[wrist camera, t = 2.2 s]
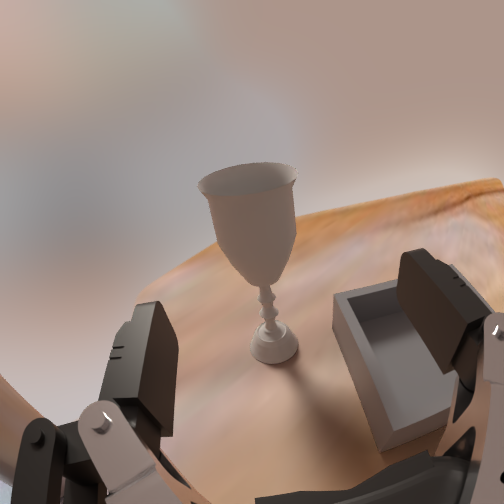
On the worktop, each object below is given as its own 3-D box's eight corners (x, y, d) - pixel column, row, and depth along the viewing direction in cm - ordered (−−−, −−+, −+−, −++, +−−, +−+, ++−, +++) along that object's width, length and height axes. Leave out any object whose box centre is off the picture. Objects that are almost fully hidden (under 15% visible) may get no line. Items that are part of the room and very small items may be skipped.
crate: (379, 453, 18) (393, 431, 16) (332, 328, 31) (333, 294, 28) (506, 388, 18) (529, 358, 16) (442, 297, 31) (452, 264, 29)
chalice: (317, 329, 31) (310, 163, 22) (294, 379, 26) (276, 198, 17) (256, 315, 35) (227, 162, 25) (228, 359, 30) (177, 194, 20)
